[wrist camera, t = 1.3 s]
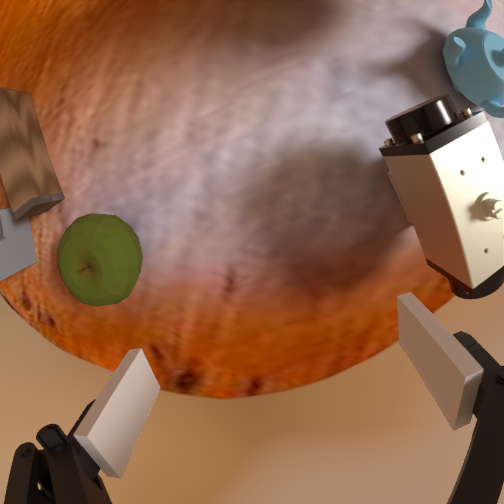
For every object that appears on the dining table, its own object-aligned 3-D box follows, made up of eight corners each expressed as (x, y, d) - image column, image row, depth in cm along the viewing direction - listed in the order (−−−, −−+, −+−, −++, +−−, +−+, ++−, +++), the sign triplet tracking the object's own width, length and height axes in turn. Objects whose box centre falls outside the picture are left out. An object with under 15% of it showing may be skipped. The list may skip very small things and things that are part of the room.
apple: (126, 188, 36) (85, 197, 27) (174, 257, 38) (146, 286, 29) (73, 237, 38) (29, 257, 28) (116, 299, 40) (82, 333, 31)
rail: (14, 109, 33) (-16, 105, 27) (31, 93, 33) (0, 87, 26) (46, 211, 37) (15, 220, 31) (64, 198, 37) (33, 205, 30)
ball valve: (457, 233, 36) (547, 274, 19) (409, 263, 37) (488, 325, 20) (405, 107, 32) (493, 76, 15) (350, 134, 33) (419, 110, 16)
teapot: (473, 133, 32) (520, 130, 22) (410, 57, 30) (448, 32, 20) (508, 84, 29) (551, 75, 19) (452, 15, 27) (489, -9, 17)
